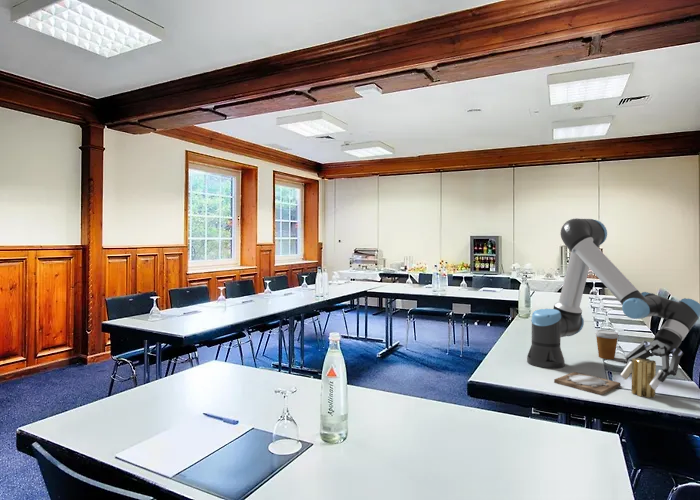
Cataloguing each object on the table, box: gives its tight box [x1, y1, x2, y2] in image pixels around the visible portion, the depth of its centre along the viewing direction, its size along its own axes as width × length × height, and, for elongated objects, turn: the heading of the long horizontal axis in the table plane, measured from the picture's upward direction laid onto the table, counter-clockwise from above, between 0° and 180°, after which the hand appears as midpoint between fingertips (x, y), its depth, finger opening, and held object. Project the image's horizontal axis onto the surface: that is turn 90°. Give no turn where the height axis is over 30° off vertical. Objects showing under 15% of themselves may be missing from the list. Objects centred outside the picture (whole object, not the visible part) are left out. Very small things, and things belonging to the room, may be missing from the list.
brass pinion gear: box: [631, 358, 657, 399], centre depth 156 cm, size 7×7×12 cm
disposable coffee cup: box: [594, 329, 620, 360], centre depth 204 cm, size 10×10×12 cm
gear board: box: [553, 371, 622, 396], centre depth 167 cm, size 17×16×2 cm
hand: (637, 382), depth 155 cm, fingers open, 10 cm apart
